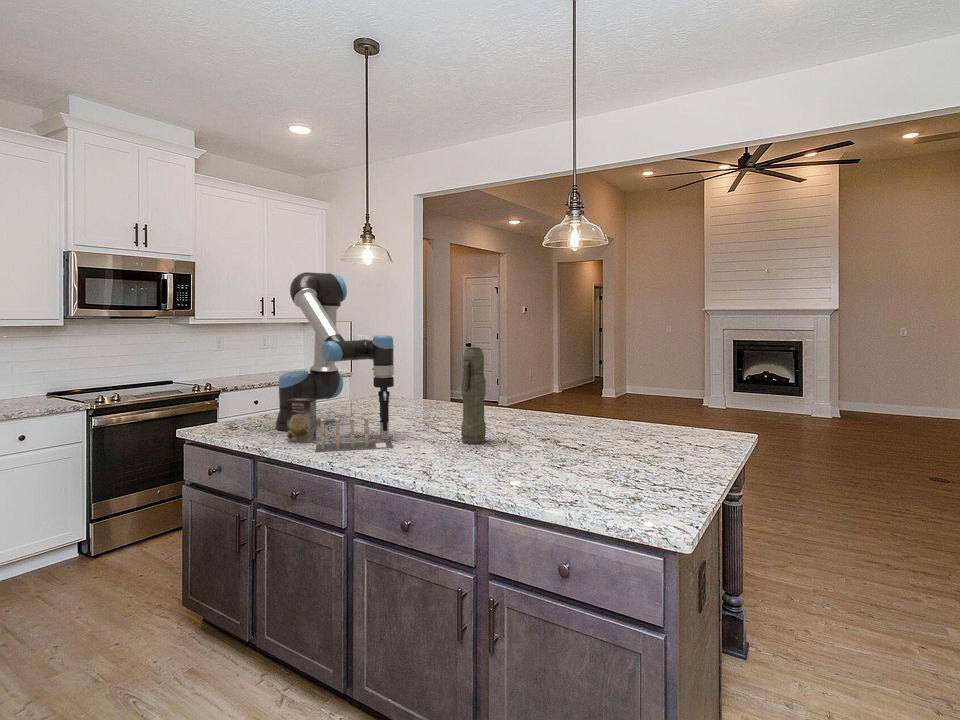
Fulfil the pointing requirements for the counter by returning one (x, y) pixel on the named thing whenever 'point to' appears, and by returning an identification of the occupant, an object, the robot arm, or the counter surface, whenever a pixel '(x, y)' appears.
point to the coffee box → (301, 420)
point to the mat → (355, 446)
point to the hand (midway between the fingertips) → (384, 437)
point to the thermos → (473, 397)
